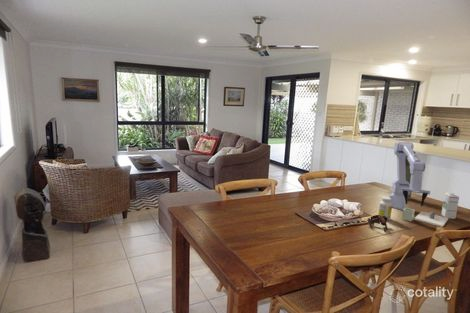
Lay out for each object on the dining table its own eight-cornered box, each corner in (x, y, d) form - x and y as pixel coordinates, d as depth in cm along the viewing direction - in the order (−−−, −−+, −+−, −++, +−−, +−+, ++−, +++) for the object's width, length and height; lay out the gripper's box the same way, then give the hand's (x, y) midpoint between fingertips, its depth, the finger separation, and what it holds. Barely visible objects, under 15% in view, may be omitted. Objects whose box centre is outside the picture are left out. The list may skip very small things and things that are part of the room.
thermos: (414, 198, 210) (421, 151, 204) (404, 200, 205) (412, 152, 198) (402, 194, 218) (409, 149, 211) (392, 196, 212) (399, 150, 206)
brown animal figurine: (383, 234, 151) (376, 220, 151) (368, 235, 159) (362, 221, 159) (395, 224, 157) (388, 210, 157) (380, 225, 165) (373, 212, 165)
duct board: (414, 219, 171) (415, 212, 170) (421, 212, 182) (422, 206, 181) (442, 227, 161) (444, 219, 161) (448, 219, 173) (449, 212, 172)
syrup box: (455, 219, 174) (460, 196, 171) (444, 218, 175) (449, 195, 172) (450, 215, 180) (455, 193, 177) (440, 214, 181) (444, 192, 178)
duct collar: (401, 218, 171) (403, 209, 170) (404, 216, 175) (405, 207, 174) (410, 221, 168) (412, 212, 167) (413, 219, 171) (414, 209, 170)
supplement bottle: (389, 217, 173) (392, 197, 171) (391, 221, 167) (394, 200, 165) (377, 215, 175) (379, 195, 173) (378, 219, 169) (381, 198, 167)
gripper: (401, 180, 169) (399, 203, 170) (430, 184, 161) (428, 207, 161) (402, 180, 175) (400, 202, 175) (431, 183, 166) (429, 206, 167)
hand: (413, 204), depth 169 cm, fingers open, 7 cm apart
